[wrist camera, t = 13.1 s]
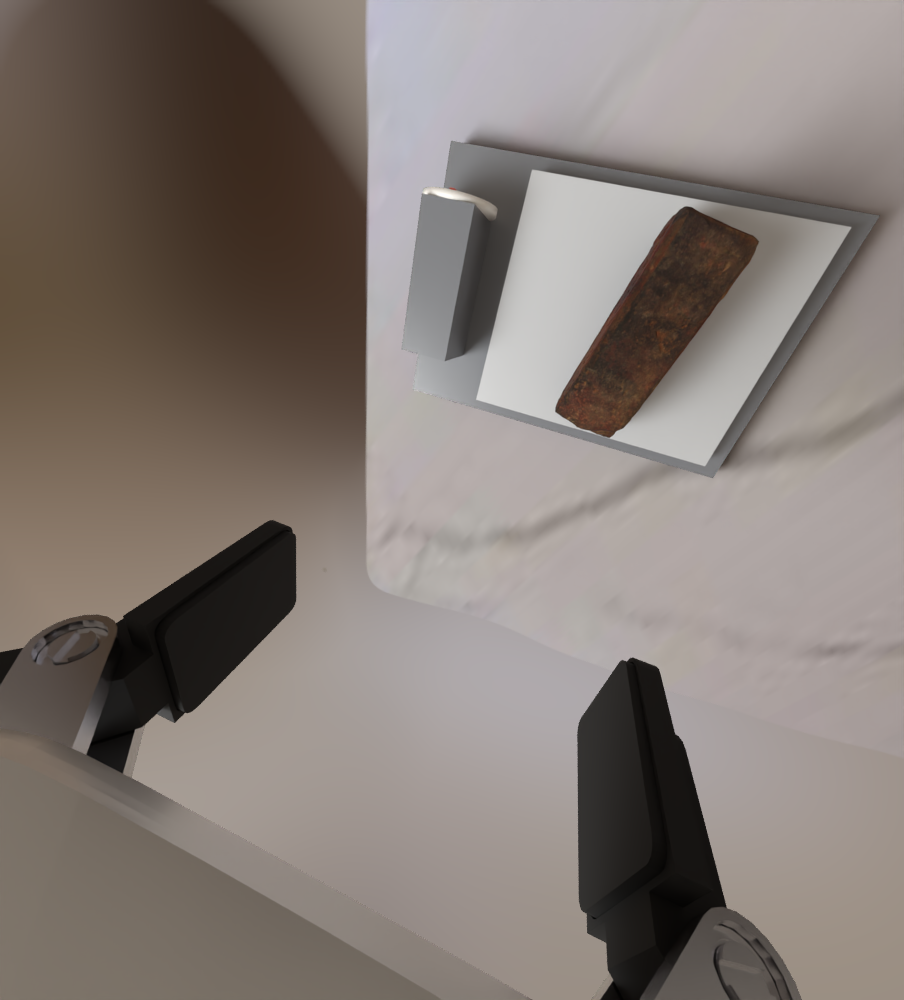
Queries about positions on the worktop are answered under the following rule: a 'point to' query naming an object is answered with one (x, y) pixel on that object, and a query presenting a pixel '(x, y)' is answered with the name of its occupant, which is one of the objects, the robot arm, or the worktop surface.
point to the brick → (655, 319)
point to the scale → (605, 294)
